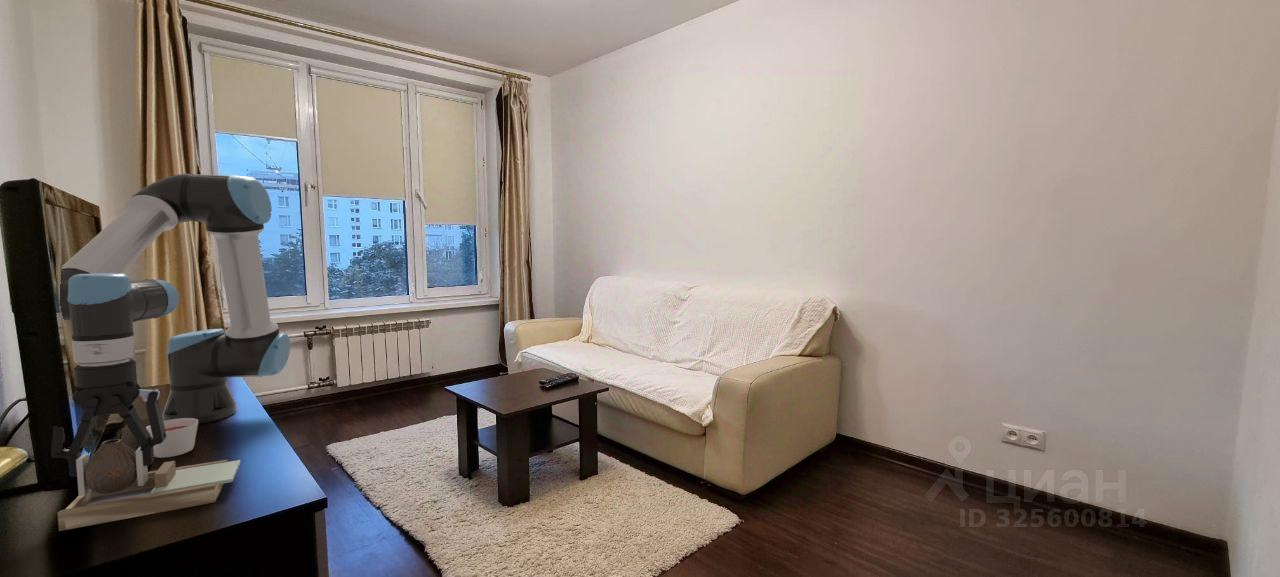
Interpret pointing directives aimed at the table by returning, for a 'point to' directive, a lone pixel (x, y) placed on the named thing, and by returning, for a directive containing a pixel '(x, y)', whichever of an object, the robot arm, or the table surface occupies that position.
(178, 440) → the candle
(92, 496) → the wooden box
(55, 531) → the table surface
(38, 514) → the table surface
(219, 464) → the lid
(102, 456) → the vase
